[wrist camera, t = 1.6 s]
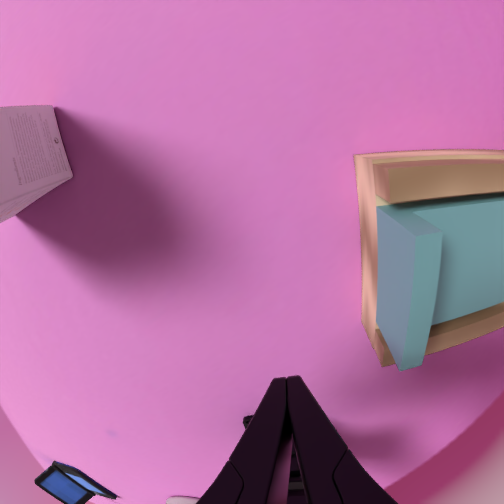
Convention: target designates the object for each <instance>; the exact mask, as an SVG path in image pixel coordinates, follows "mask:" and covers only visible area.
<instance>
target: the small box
mask: <svg viewBox="0 0 504 504" xmlns="http://www.w3.org/2000/svg"><path fill="white" fill-rule="evenodd" d="M72 177H73V174H72V171H71V168H70V165H69V162H68V159H67V156H66V153H65V149H64V146H63V143H62V139H61V136H60V132H59V128H58V125H57V121H56V117H55V113H54V109H53V106H52V105H31V106H9V107H0V223H1V222H3V221H5V220H7V219H9V218H11V217H13V216H15V215H16V214H17V213H19V212H20V211H21V210H23V209H24V208H26V207H27V206H28V205H30V204H31V203H33V202H34V201H36V200H37V199H39V198H40V197H42V196H43V195H45V194H46V193H48V192H49V191H51V190H52V189H54V188H55V187H57V186H59V185H60V184H62V183H64V182H65V181H67V180H69V179H71V178H72Z"/></svg>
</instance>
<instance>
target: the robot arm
mask: <svg viewBox="0 0 504 504" xmlns="http://www.w3.org/2000/svg"><path fill="white" fill-rule="evenodd" d="M243 424H244V426H245V429H246V430H245V432H244V434H243V435H242V437H241V439H240V440H239V442H238V444H237V446H236V447H235V449H234V451H233V452H232V454H231V456H230V457H229V461H227V462H226V464H225V466H224V467H223V469H222V470H221V472H220V473H219V475H218V476H217V478H216V479H215V481H214V482H213V483H212V485H211V486H210V487H209V488H208V490H207V491H206V492H205V493H204V494H203V496H202V497H201V498H200V499H199V500H198V501H197V502H196V503H195V504H398V503H397V502H396V501H395V500H394V499H393V498H392V497H391V496H390V495H388V493H386V491H384V490H383V489H382V488H381V487H380V486H379V485H378V484H377V483H376V482H375V481H374V480H373V478H372V477H371V476H370V475H369V474H368V473H367V472H366V471H365V470H364V468H363V467H362V466H361V464H360V463H359V462H358V460H357V459H356V458H355V456H354V455H353V454H352V452H351V451H350V450H349V449H348V447H347V445H346V444H345V442H344V441H343V439H342V438H341V436H340V435H339V433H338V432H337V430H336V429H335V428H334V426H333V425H332V423H331V422H330V420H329V419H328V417H327V416H326V414H325V413H324V411H323V410H322V408H321V407H320V405H319V404H318V402H317V401H316V399H315V398H314V396H313V395H312V393H311V392H310V390H309V389H308V387H307V386H306V384H305V383H304V381H303V380H302V378H301V377H300V376H299V375H296V376H289V377H287V378H286V377H280V378H274V379H273V380H272V382H271V384H270V386H269V388H268V389H267V391H266V393H265V395H264V397H263V399H262V401H261V403H260V405H259V406H258V408H257V410H256V412H255V414H254V416H246V417H244V418H243Z"/></svg>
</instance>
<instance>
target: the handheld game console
mask: <svg viewBox="0 0 504 504" xmlns="http://www.w3.org/2000/svg"><path fill="white" fill-rule="evenodd" d="M35 484H36V485H37V486H39V487H40V488H42V489H43V490H44V491H46V492H47V493H49V494H50V495H52V496H53V497H55V498H56V499H58V500H59V501H61V502H62V503H64V504H85V503H86V502H87V501H88V500H89V499H91V498H92V497H93V496H95V495H96V494H97V495H100V496H104V497H107V498H111V499H116V498H117V497H116V495H115V494H113V493H112V492H110V491H108V490H107V489H105V488H104V487H102V486H101V485H99V484H98V483H96V482H95V481H94V480H92V479H91V478H89V477H88V476H87V475H85V474H84V473H82V472H81V471H80V470H78V469H77V468H75V467H72V466H69V465H65V464H62V463H59V462H56V461H53V463H52V466H50V467H49V468H48V469H46V470H45V471H44V472H43V473H42V474H41V475H39V476H38V477H37V478H36V479H35Z"/></svg>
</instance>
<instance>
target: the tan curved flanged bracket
mask: <svg viewBox="0 0 504 504" xmlns="http://www.w3.org/2000/svg"><path fill="white" fill-rule="evenodd" d="M354 163H355V172H356V181H357V192H358V203H359V217H360V233H361V258H362V319H361V321H362V324H363V326H364V328H365V331H366V333H367V335H368V338H369V340H370V342H371V345H372V347H373V349H375V351H376V354H377V356H378V359H379V361H380V364H381V366H382V367H384V366H388V365H392V364H396V363H395V360H394V358H393V356H392V354H391V352H390V350H389V348H388V345H387V343H386V341H385V339H384V337H383V335H382V333H381V331H380V329H379V327H378V325H377V323H376V308H377V280H378V241H377V213H376V206H383V205H391V204H399V203H407V202H415V201H424V200H433V199H442V198H451V197H460V196H470V195H480V194H491V193H502V192H504V150H485V149H440V150H412V151H395V152H380V153H368V154H357V155H354ZM502 327H504V302H501V303H499V304H496V305H493V306H491V307H488V308H485V309H482V310H479V311H476V312H473V313H471V314H467V315H464V316H461V317H458V318H455V319H452V320H448V321H445V322H442V323H438V324H435V325H431V328H430V333H429V337H428V342H427V346H426V350H425V354H424V356H425V355H428V354H432V353H435V352H438V351H441V350H444V349H447V348H450V347H453V346H456V345H459V344H462V343H464V342H467V341H470V340H472V339H475V338H478V337H480V336H483V335H485V334H488V333H490V332H493V331H495V330H497V329H500V328H502Z"/></svg>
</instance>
